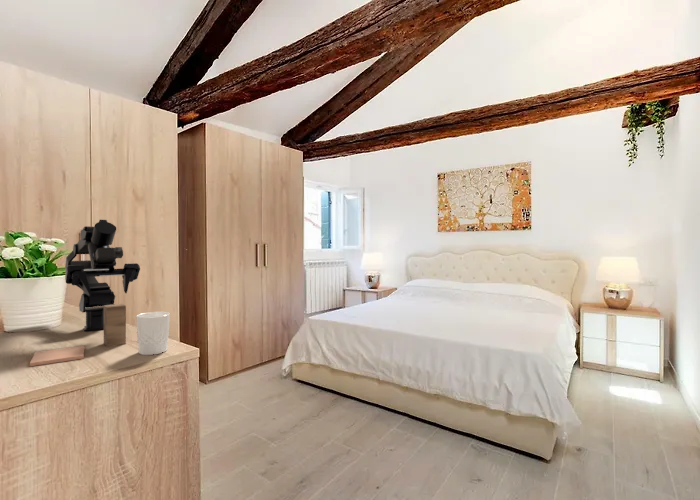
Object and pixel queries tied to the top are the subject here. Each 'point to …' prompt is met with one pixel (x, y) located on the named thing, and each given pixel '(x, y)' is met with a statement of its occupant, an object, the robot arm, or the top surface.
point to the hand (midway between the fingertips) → (108, 293)
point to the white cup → (152, 332)
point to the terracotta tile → (57, 355)
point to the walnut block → (114, 325)
